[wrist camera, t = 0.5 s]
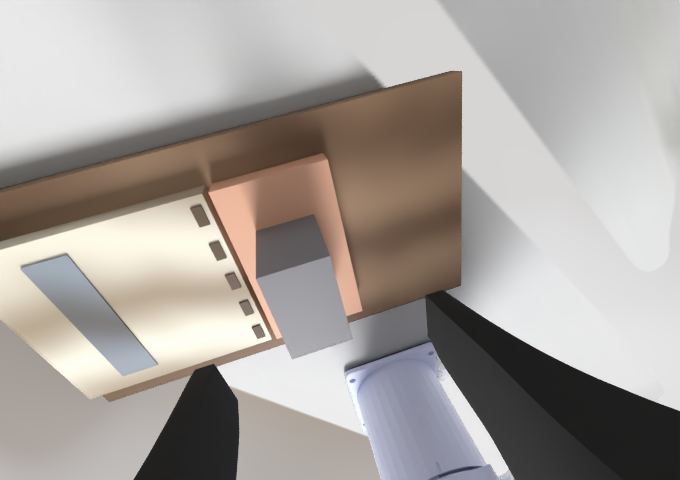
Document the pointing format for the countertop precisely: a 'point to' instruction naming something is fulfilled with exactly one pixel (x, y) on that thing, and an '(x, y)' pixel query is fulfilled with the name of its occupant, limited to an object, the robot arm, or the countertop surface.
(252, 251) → the pink grey stepped block
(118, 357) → the board
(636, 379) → the countertop surface
